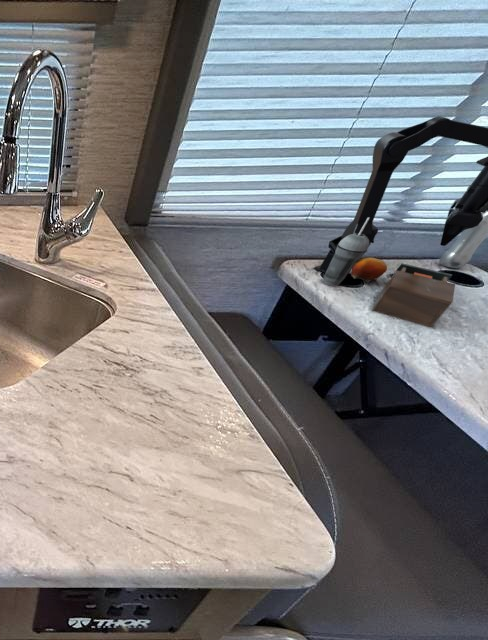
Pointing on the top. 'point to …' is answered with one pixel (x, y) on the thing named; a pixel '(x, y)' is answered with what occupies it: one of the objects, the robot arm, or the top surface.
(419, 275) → the block
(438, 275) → the drawer
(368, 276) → the fruit
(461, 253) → the plastic bottle
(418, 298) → the cabinet
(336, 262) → the beverage cup
